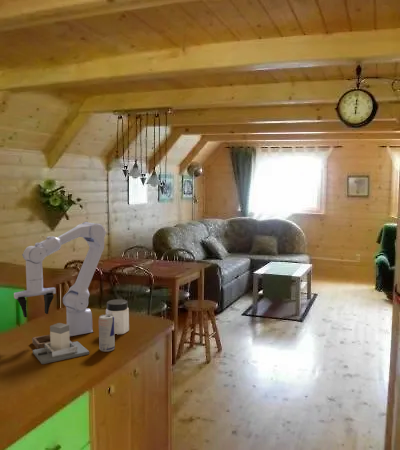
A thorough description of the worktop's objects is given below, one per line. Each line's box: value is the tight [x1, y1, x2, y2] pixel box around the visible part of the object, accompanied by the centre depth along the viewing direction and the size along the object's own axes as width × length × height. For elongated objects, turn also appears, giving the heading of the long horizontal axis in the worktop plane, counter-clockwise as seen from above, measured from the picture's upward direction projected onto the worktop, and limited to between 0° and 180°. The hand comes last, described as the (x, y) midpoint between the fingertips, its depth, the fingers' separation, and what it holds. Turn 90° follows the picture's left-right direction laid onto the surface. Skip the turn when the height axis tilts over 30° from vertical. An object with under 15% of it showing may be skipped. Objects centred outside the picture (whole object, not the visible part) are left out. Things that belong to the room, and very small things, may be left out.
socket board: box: [32, 340, 90, 365], centre depth 162 cm, size 16×12×3 cm
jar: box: [105, 298, 130, 336], centre depth 184 cm, size 9×8×12 cm
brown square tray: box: [31, 334, 50, 349], centre depth 170 cm, size 7×8×2 cm
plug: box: [49, 322, 71, 351], centre depth 161 cm, size 4×5×9 cm
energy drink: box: [98, 313, 116, 353], centre depth 165 cm, size 5×5×12 cm
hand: (36, 314), depth 172 cm, fingers open, 7 cm apart
